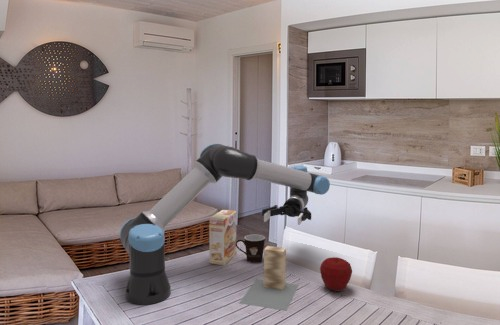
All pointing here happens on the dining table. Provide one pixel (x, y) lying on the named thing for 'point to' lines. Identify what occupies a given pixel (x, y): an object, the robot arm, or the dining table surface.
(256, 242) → the coffee mug
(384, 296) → the dining table surface
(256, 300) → the mat
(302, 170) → the robot arm
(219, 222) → the coffeecake box
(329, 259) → the apple
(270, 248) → the letter block
